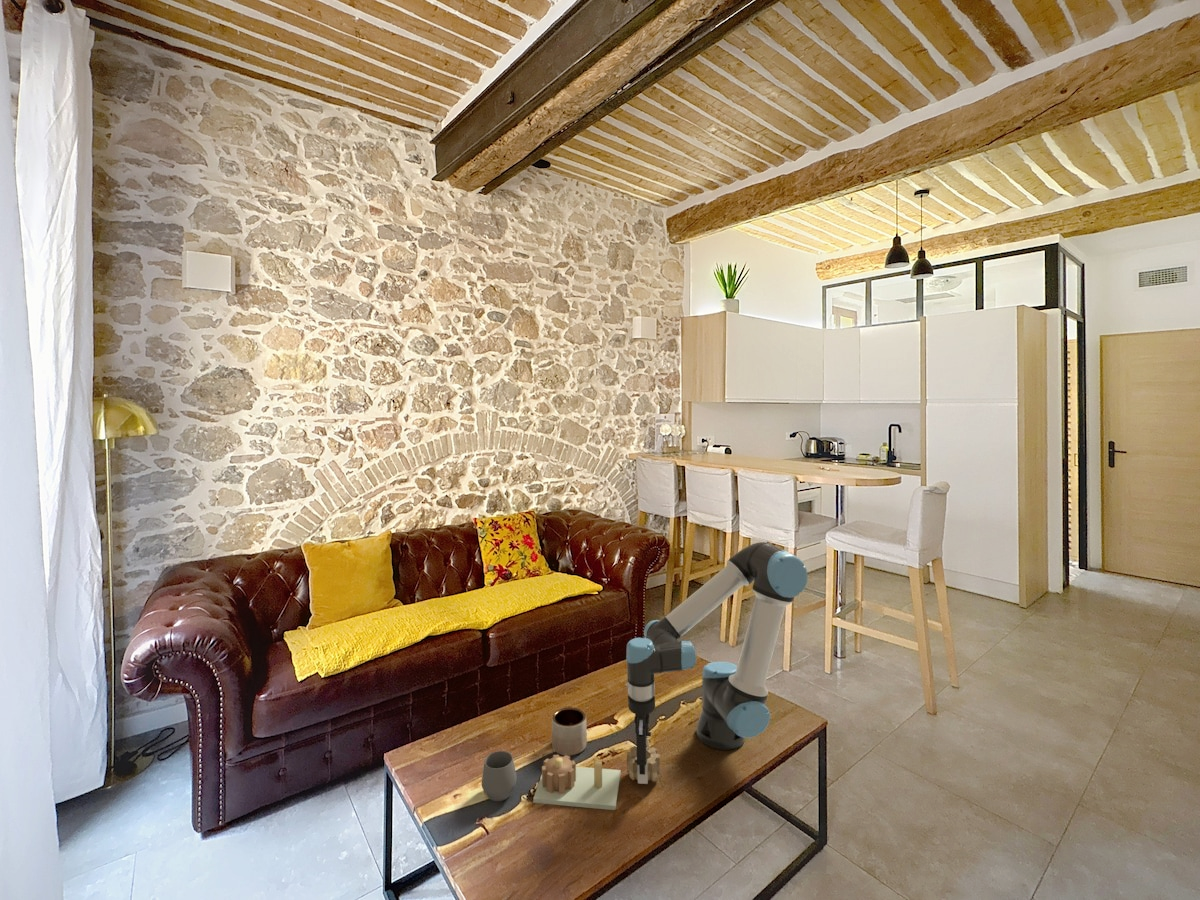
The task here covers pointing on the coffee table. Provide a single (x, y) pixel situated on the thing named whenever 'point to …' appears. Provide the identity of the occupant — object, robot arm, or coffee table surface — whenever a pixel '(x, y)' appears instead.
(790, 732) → the coffee table surface
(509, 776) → the cup
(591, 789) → the gear board
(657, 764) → the beech gear
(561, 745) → the planter
